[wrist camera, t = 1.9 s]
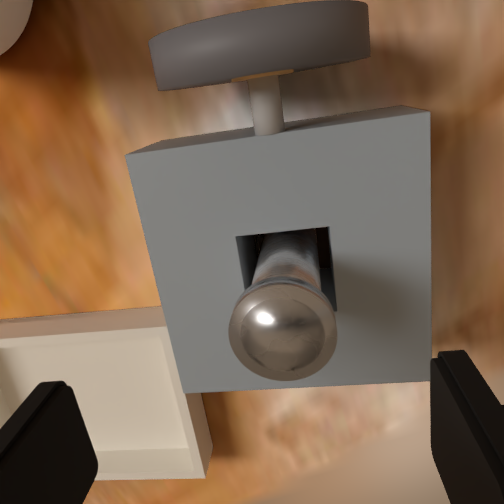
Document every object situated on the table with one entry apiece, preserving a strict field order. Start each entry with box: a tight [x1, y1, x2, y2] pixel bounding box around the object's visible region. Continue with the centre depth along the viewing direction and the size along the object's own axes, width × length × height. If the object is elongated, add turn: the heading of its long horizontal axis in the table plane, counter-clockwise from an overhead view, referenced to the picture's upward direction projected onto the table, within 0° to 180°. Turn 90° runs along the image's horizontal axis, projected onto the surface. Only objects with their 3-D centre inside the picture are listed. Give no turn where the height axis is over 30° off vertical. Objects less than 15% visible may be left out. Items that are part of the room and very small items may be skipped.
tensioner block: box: [125, 0, 432, 393], centre depth 19 cm, size 12×16×8 cm
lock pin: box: [228, 228, 337, 381], centre depth 19 cm, size 4×4×10 cm
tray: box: [0, 306, 213, 480], centre depth 28 cm, size 14×11×2 cm
